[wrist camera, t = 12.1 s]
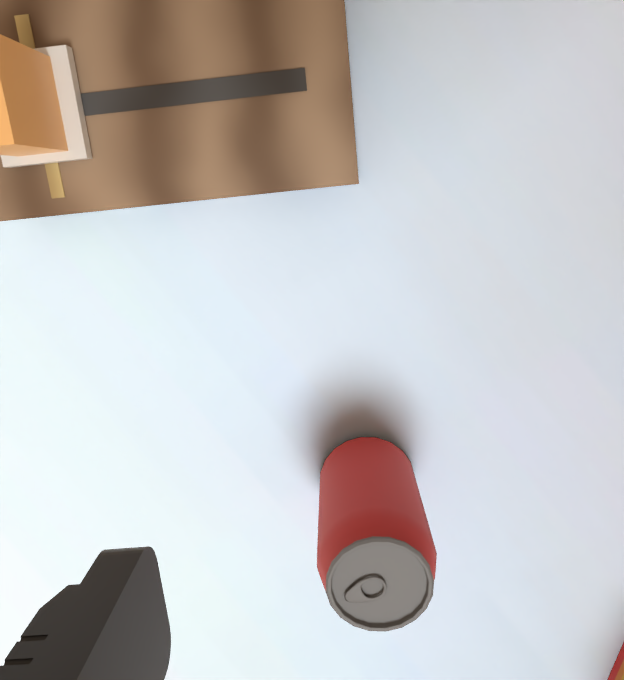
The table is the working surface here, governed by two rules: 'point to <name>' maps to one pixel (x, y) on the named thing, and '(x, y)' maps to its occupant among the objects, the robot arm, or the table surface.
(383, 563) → the beer can
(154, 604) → the robot arm
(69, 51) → the fader tab
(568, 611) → the table surface
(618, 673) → the baking soda box
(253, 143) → the fader board
